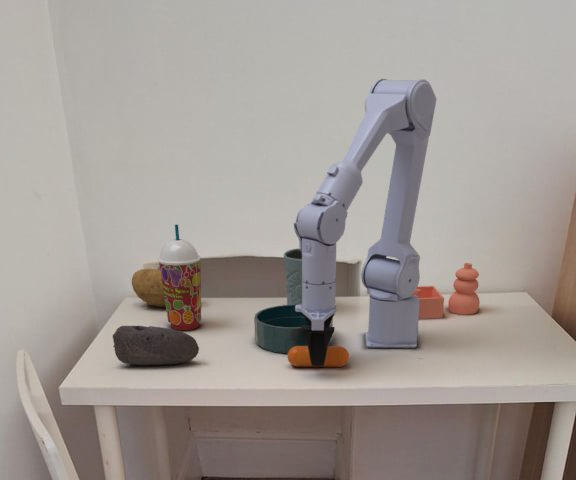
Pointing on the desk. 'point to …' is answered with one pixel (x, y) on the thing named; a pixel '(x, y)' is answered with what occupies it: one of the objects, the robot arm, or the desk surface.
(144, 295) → the potato
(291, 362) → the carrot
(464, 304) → the bottle and box
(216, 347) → the desk surface
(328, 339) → the robot arm
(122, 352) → the perforated stone tool
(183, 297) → the smoothie
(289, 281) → the green cylindrical vase
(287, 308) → the teal shallow bowl
